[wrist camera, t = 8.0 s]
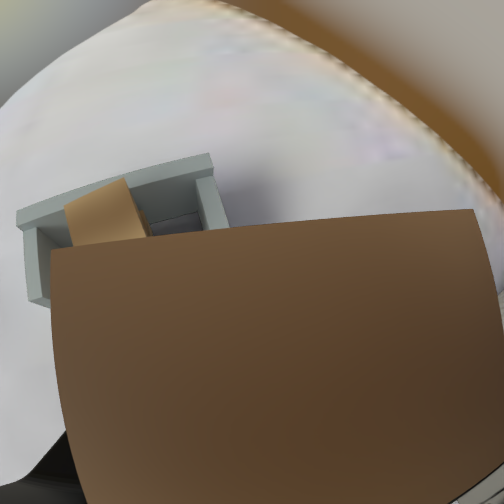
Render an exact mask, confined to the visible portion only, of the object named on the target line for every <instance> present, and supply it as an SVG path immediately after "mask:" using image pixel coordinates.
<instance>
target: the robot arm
mask: <svg viewBox="0 0 504 504" xmlns="http://www.w3.org/2000/svg"><path fill="white" fill-rule="evenodd" d="M456 500H457V501H458V503H459V504H504V462H503V463H502V464H500V465H499V466H498V467H497V468H496V469H494V470H493V471H492V472H491V473H489V474H488V475H487V476H486V477H484V478H483V479H482V480H480V481H479V482H478V483H476V484H475V485H474V486H472V487H471V488H469V489H468V490H467V491H465V492H464V493H462V494H461V495H459V496H458V497H456V498H455V499H453V500H452V501H450V502H449V503H447V504H452V503H453V502H455V501H456ZM0 504H88V503H87V501H86V498H85V495H84V492H83V489H82V486H81V483H80V480H79V477H78V474H77V470H76V467H75V463H74V460H73V456H72V452H71V449H70V445H69V441H68V436H67V432H66V431H65V432H64V433H63V434H62V435H61V437H60V438H59V439H58V440H57V442H56V443H55V444H54V445H53V446H52V447H51V449H50V450H49V451H48V452H47V453H46V454H45V456H44V457H43V458H42V459H41V460H40V461H39V463H38V464H37V465H36V466H35V467H34V468H33V470H32V471H31V472H30V473H29V474H27V475H26V476H25V477H23V478H22V479H20V480H18V481H16V482H13V483H10V484H6V485H3V486H0Z"/></svg>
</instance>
